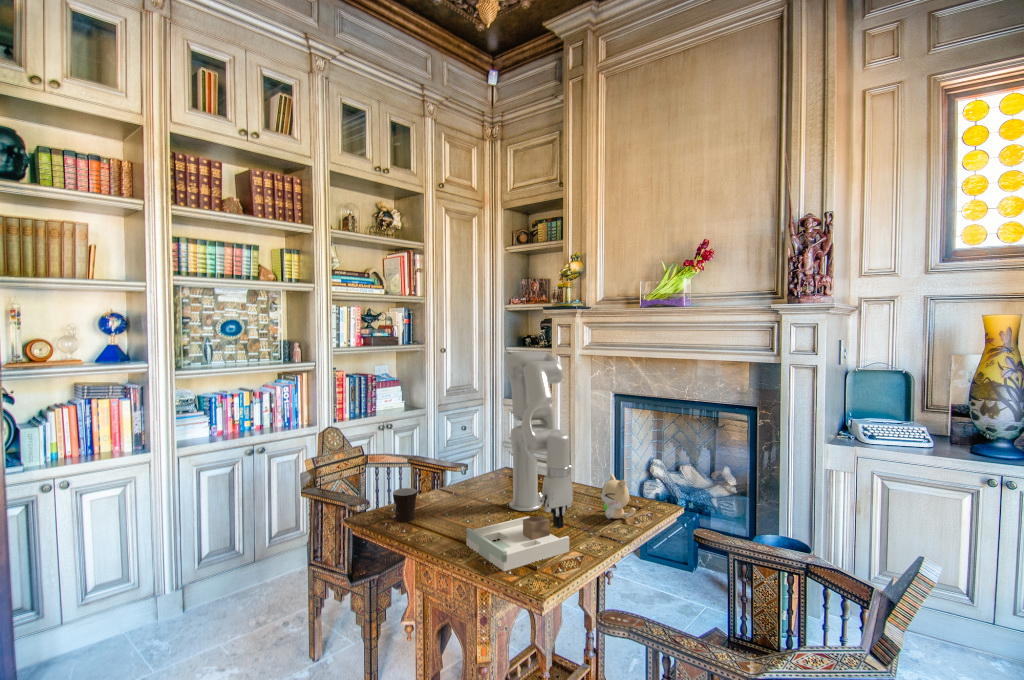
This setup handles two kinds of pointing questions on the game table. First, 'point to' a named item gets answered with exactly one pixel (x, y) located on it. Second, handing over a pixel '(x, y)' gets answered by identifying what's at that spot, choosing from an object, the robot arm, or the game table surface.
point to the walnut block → (536, 527)
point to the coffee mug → (404, 504)
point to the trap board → (513, 544)
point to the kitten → (615, 498)
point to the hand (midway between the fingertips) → (558, 526)
